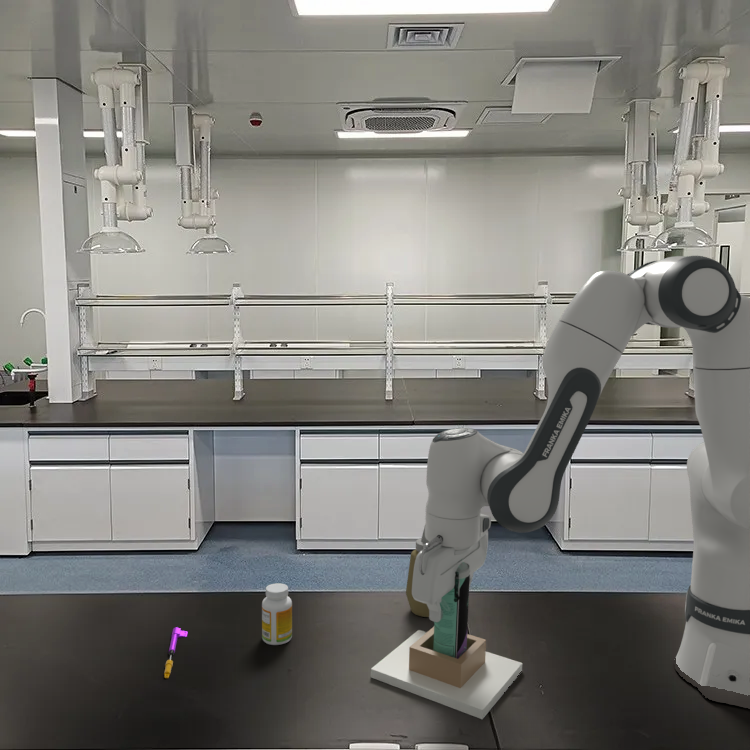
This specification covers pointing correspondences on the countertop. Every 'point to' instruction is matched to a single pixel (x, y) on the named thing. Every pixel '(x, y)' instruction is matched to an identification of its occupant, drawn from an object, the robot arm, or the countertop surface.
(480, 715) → the socket board
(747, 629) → the robot arm
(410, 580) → the squeeze bottle
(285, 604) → the supplement bottle
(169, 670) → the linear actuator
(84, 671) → the countertop surface
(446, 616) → the spray can
